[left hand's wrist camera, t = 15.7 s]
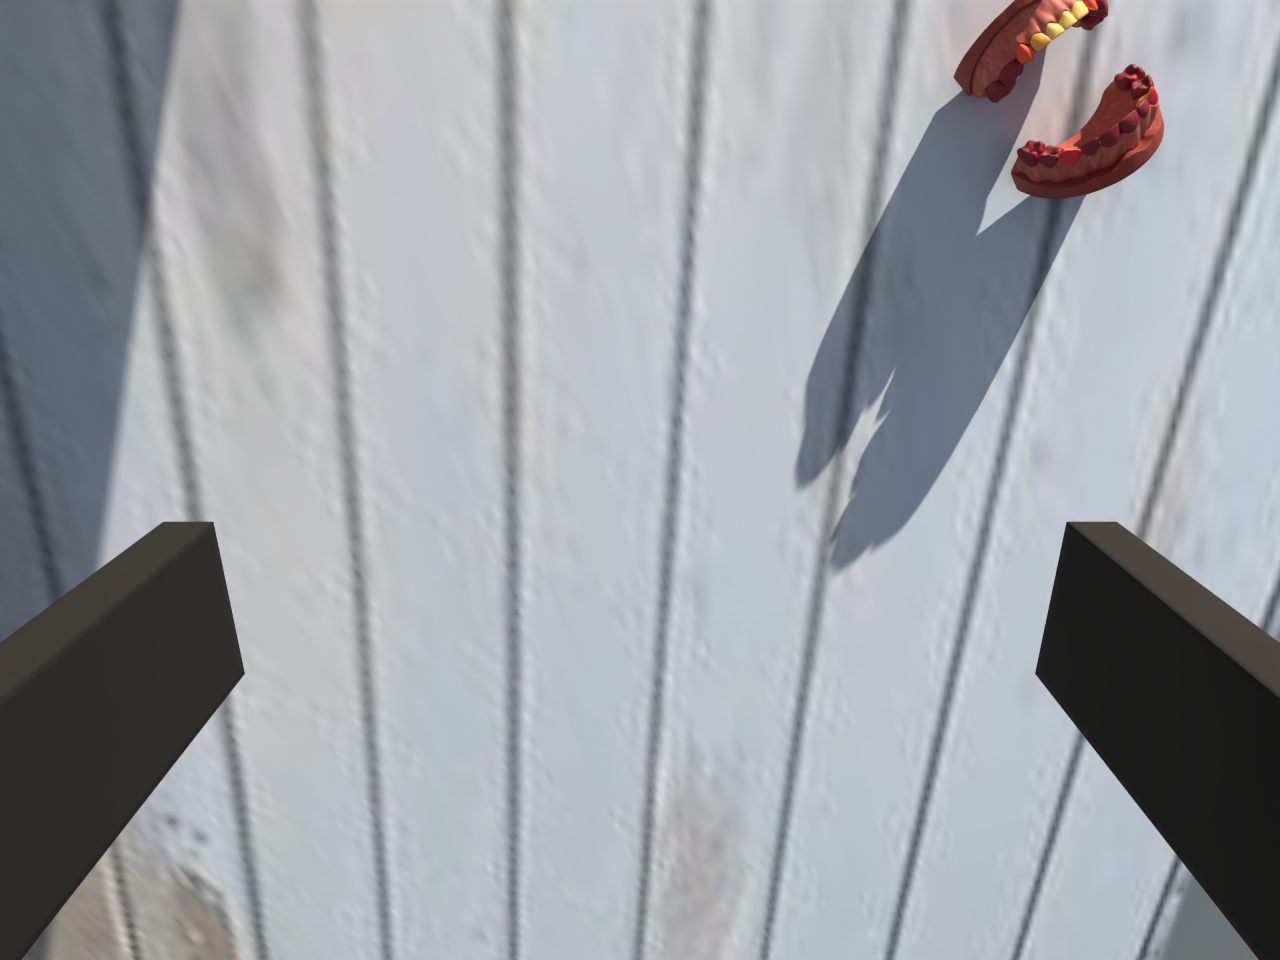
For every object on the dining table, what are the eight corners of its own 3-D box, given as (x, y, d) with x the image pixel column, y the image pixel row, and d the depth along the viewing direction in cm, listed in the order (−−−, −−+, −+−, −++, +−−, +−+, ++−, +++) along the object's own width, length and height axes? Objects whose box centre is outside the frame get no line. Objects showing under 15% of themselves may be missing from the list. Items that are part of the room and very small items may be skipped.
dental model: (1117, -78, 27) (1213, 125, 30) (1060, -51, 31) (1149, 126, 34) (970, 38, 29) (1072, 222, 31) (933, 49, 33) (1027, 213, 35)
